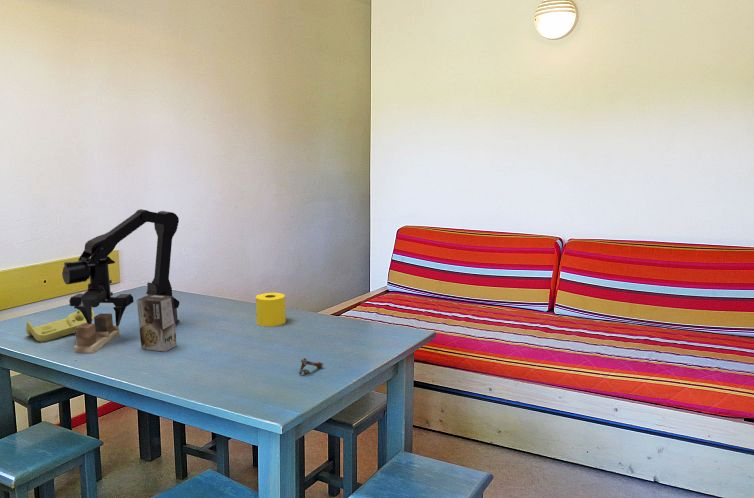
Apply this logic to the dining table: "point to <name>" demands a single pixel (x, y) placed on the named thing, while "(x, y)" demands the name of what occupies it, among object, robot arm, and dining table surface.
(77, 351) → the rail
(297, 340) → the dining table surface
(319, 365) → the brown triangular bracket
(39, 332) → the plastic component
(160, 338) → the coffee box
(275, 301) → the yellow hollow cylinder
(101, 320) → the walnut finger
